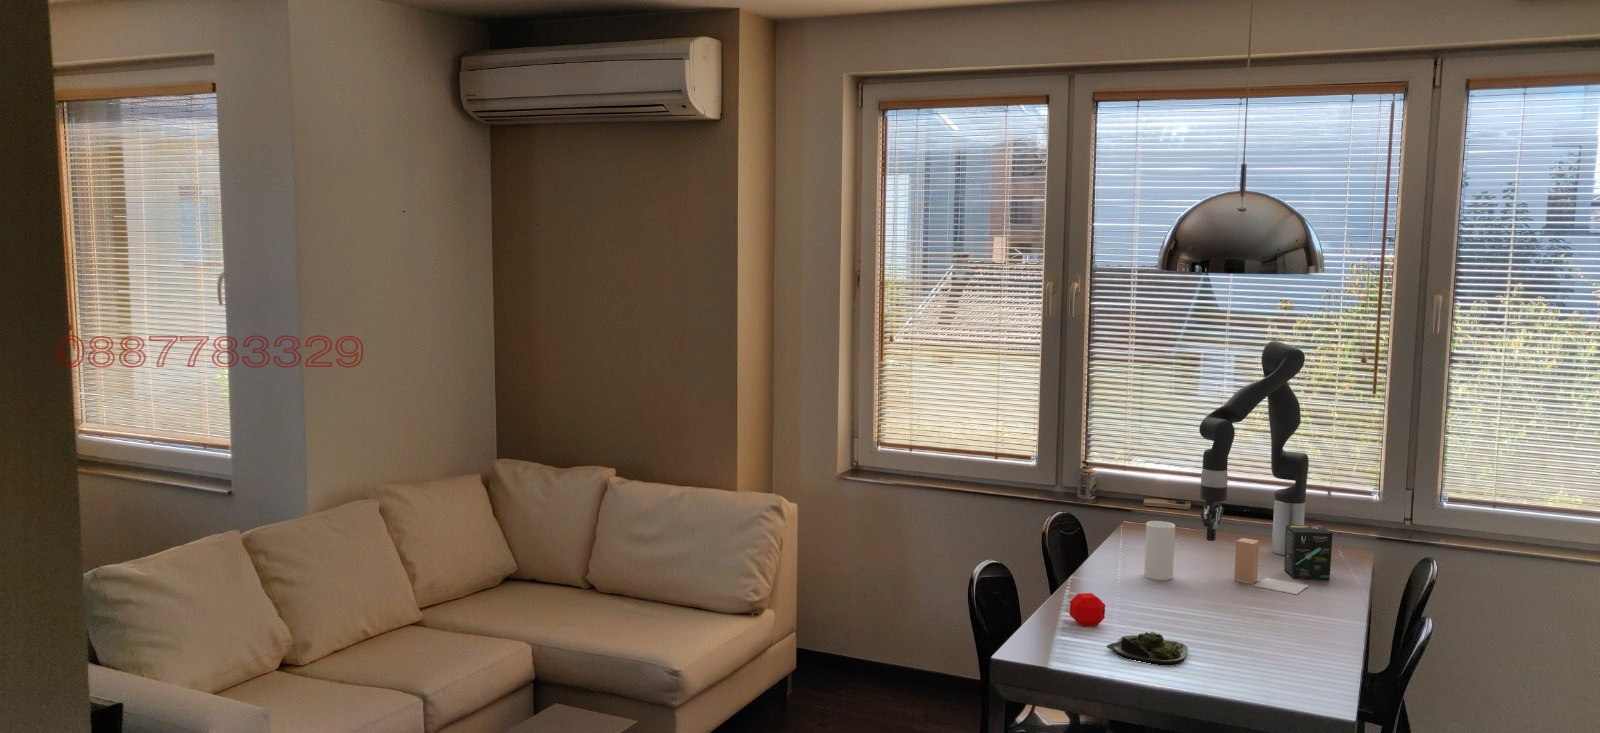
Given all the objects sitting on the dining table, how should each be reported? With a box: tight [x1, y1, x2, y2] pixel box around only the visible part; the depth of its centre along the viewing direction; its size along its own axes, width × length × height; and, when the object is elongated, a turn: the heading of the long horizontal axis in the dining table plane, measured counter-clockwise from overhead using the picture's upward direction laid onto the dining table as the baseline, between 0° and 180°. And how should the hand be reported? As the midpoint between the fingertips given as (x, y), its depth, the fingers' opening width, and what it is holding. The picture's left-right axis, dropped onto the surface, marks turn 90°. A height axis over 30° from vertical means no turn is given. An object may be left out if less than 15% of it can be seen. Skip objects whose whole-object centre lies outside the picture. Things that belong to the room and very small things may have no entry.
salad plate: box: [1106, 631, 1189, 666], centre depth 275 cm, size 19×18×5 cm
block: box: [1233, 537, 1260, 585], centre depth 336 cm, size 5×5×12 cm
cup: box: [1143, 520, 1176, 581], centre depth 339 cm, size 8×8×16 cm
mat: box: [1253, 577, 1309, 596], centre depth 331 cm, size 11×12×1 cm
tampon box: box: [1283, 525, 1333, 581], centre depth 342 cm, size 11×9×15 cm
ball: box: [1069, 592, 1106, 628], centre depth 294 cm, size 8×8×8 cm
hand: (1211, 540), depth 343 cm, fingers closed
